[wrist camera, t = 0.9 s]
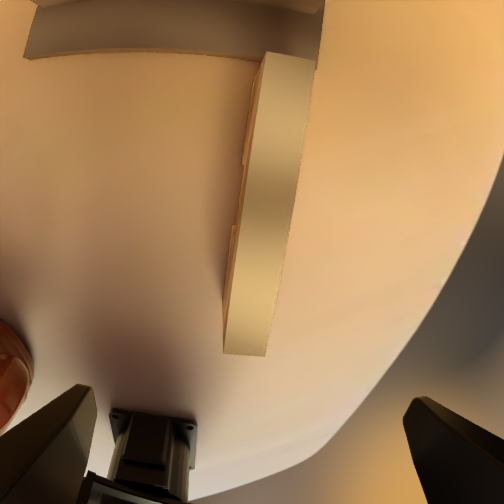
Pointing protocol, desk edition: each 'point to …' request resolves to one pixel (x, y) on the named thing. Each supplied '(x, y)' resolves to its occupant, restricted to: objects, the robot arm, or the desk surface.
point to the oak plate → (265, 200)
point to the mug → (13, 375)
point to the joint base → (177, 27)
